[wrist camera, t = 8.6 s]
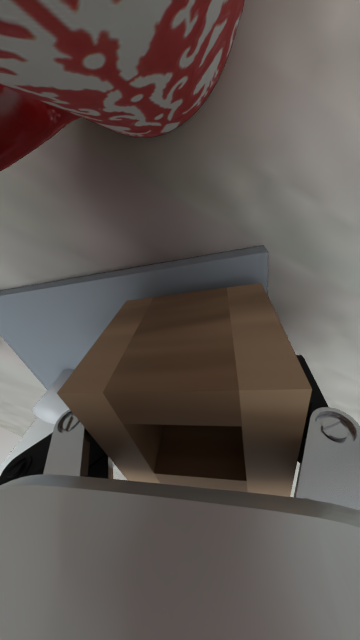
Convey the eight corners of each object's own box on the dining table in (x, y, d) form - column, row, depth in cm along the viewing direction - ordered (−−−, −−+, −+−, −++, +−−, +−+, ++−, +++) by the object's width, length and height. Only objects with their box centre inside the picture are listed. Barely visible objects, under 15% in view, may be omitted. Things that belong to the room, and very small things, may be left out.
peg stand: (-14, 293, 16) (-113, 340, 11) (263, 245, 11) (300, 292, 6) (69, 398, 22) (31, 455, 18) (262, 397, 18) (279, 474, 13)
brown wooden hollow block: (126, 300, 11) (56, 393, 6) (261, 282, 10) (312, 389, 5) (159, 384, 15) (132, 485, 10) (261, 382, 13) (289, 500, 8)
